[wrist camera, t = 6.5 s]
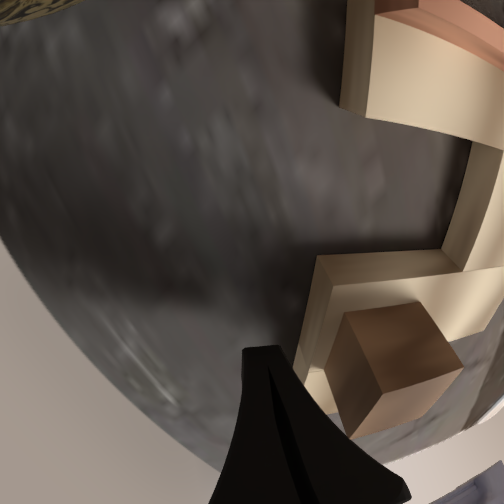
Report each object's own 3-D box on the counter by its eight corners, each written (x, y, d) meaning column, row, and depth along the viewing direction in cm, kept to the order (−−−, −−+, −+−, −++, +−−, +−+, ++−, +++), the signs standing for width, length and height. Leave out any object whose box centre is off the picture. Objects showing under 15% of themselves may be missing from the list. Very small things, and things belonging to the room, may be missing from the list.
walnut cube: (420, 301, 13) (464, 367, 9) (391, 356, 15) (421, 416, 11) (344, 312, 12) (382, 393, 9) (323, 369, 14) (348, 439, 11)
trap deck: (541, 93, 9) (595, 116, 6) (438, 360, 21) (459, 398, 17) (347, 0, 7) (418, -21, 4) (285, 394, 19) (298, 447, 15)
